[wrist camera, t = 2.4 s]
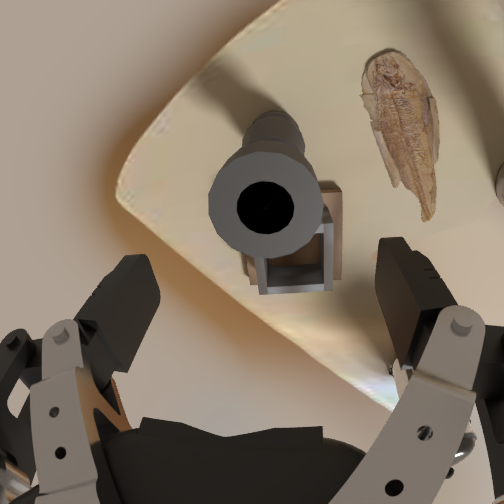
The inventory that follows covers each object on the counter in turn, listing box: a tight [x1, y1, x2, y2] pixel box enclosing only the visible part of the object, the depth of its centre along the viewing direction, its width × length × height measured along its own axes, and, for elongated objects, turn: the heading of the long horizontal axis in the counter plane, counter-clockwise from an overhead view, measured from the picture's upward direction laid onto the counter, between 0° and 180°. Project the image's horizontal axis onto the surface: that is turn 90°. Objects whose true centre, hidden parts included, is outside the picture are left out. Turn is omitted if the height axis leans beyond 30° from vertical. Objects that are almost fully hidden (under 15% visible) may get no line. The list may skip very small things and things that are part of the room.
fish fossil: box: [360, 51, 440, 222], centre depth 34 cm, size 26×10×1 cm, turn 26°
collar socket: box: [245, 188, 342, 295], centre depth 40 cm, size 14×14×6 cm
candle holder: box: [208, 111, 324, 259], centre depth 25 cm, size 6×6×25 cm
